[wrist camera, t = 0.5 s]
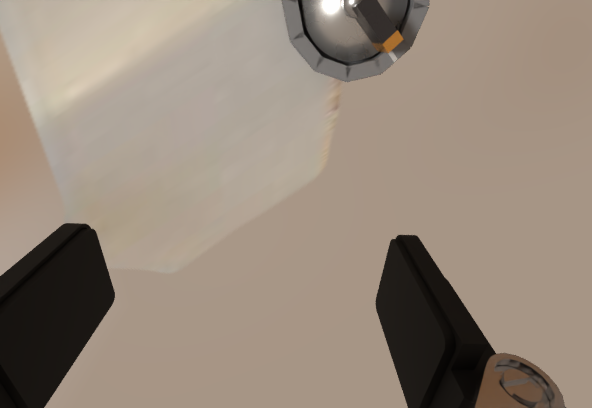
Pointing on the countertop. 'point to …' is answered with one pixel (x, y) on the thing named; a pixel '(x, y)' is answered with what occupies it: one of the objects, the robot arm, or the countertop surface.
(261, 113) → the countertop surface
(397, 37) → the dial
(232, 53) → the countertop surface
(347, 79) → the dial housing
